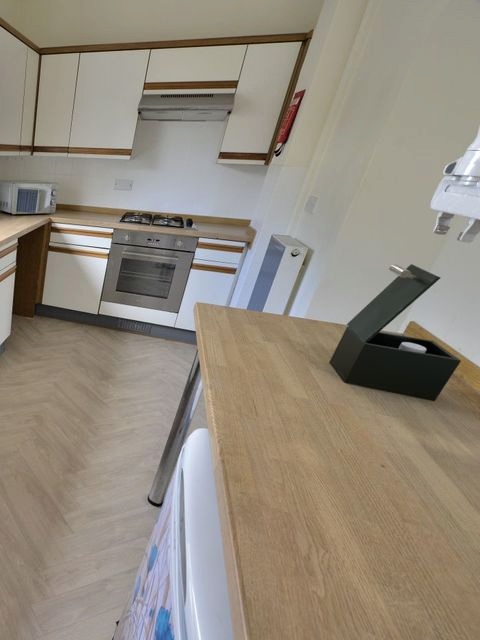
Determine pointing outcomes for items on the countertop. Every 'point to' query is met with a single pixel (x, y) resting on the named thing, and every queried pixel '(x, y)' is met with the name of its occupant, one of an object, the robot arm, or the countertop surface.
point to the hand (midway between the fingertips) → (450, 237)
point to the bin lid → (392, 300)
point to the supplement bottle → (412, 347)
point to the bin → (393, 364)
